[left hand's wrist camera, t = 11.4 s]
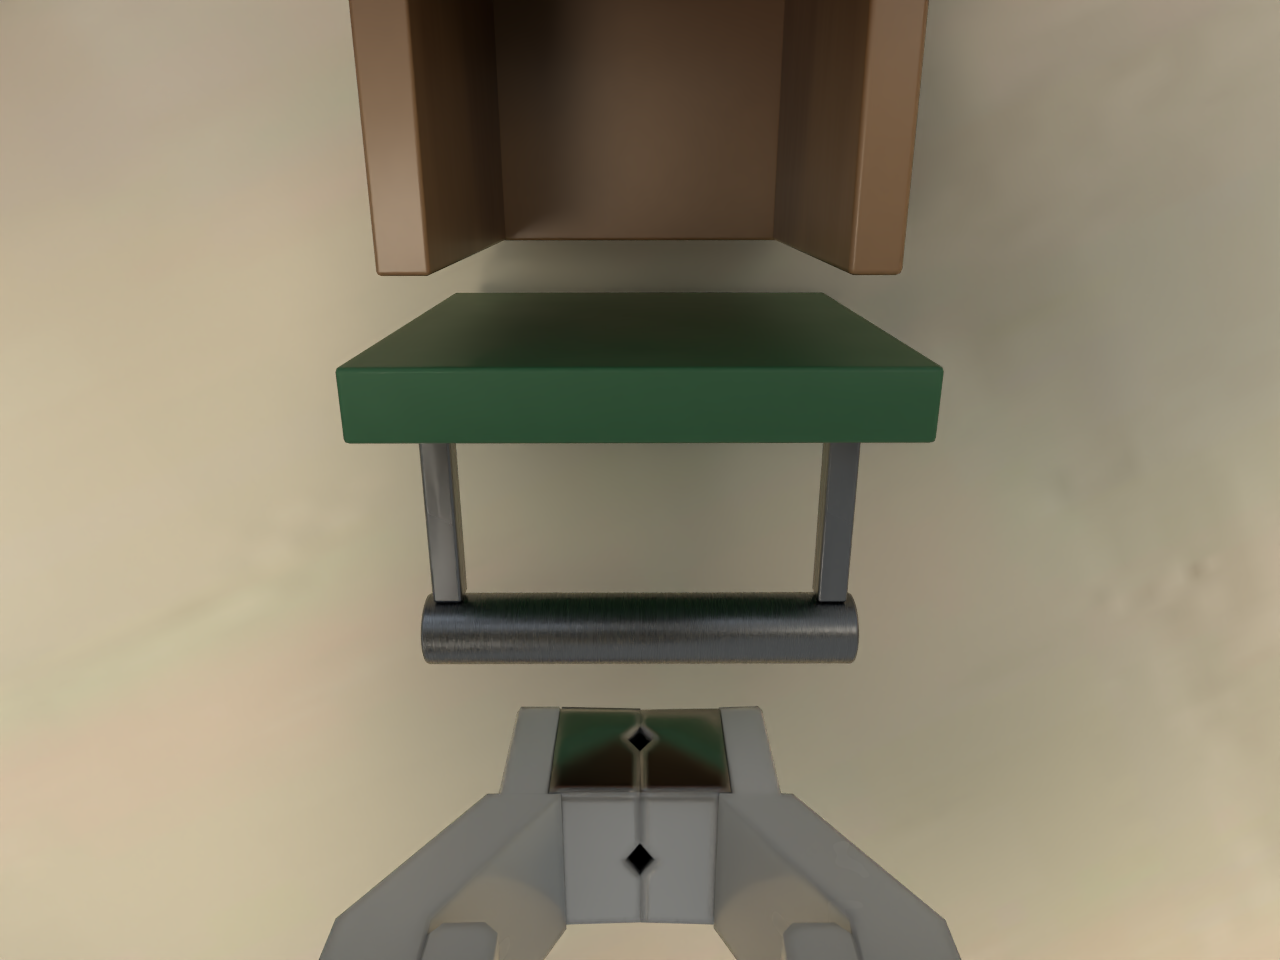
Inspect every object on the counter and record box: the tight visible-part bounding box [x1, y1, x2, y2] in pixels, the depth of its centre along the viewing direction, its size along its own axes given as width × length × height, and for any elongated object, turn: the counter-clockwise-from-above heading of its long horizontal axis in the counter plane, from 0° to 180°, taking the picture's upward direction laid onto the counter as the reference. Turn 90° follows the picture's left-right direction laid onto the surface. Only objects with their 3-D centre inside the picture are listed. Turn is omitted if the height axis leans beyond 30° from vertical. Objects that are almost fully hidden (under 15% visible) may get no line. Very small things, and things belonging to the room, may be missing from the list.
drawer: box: [336, 0, 944, 664], centre depth 16 cm, size 18×9×9 cm, turn 0°
